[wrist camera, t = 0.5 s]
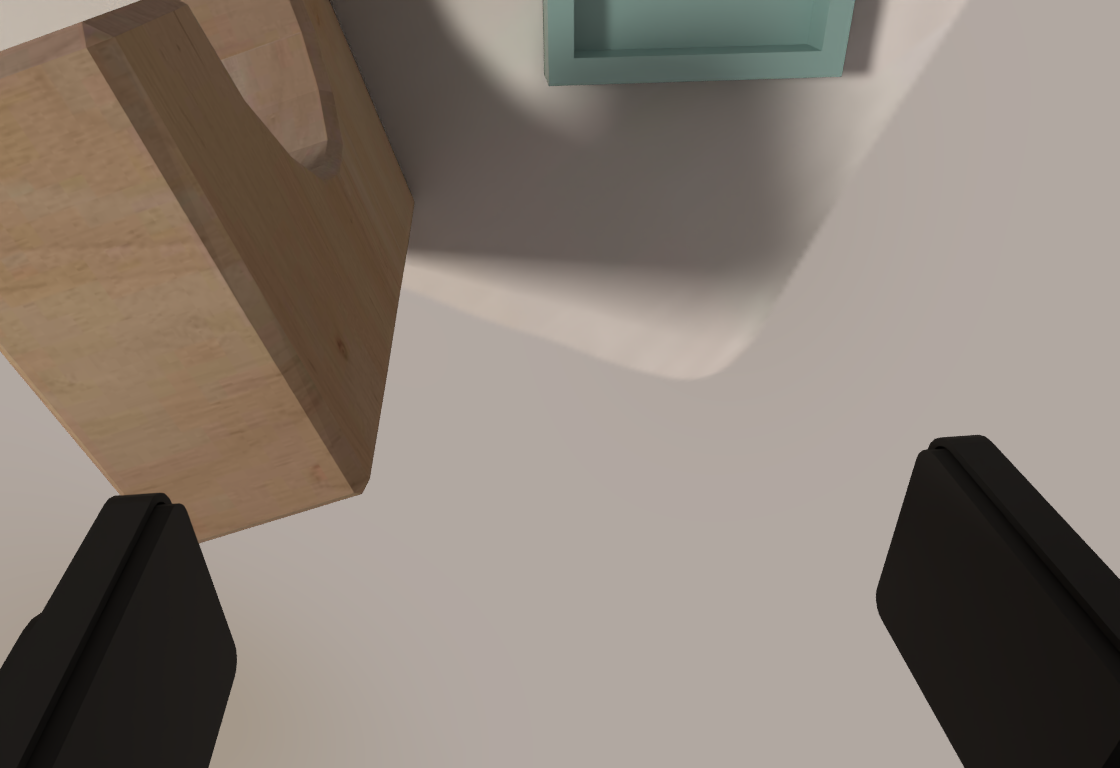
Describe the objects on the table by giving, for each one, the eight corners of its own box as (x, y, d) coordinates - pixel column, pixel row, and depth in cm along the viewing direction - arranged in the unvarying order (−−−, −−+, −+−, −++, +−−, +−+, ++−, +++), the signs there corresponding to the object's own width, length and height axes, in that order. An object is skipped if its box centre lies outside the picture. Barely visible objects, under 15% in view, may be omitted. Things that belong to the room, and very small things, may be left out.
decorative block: (170, -15, 30) (-209, 119, 13) (310, -62, 29) (105, 14, 13) (300, 245, 36) (155, 565, 19) (418, 209, 35) (375, 502, 19)
